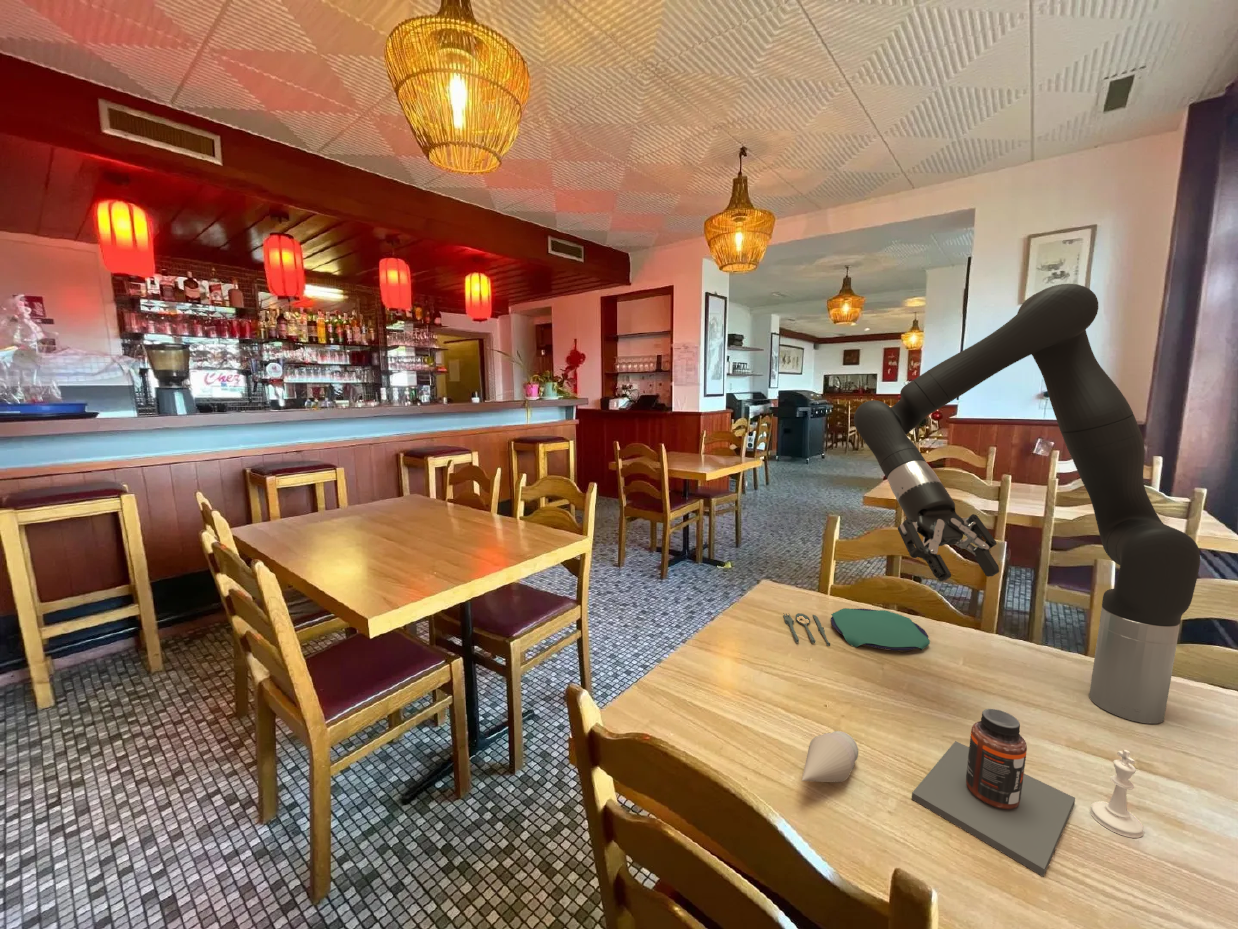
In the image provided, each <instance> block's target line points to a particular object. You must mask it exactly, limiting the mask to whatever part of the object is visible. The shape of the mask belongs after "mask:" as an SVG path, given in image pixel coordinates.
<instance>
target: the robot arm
mask: <svg viewBox="0 0 1238 929" xmlns="http://www.w3.org/2000/svg"><path fill="white" fill-rule="evenodd" d="M1098 311H1099V300H1098V297H1097V296H1096V293H1095V292H1093V291H1092V290H1091V289H1090V288H1089V287H1086V286H1084V285H1082V284H1078V283H1077V284H1076V283H1061V284H1060V283H1059V284H1056V285H1052V286H1050V287H1046V288H1044V289H1041V291H1038V292H1036V293H1034V294H1032V295H1031V296H1029V297H1028V298H1027V299H1026V300H1025V301H1024V302H1023V303H1021V305H1020V307H1019V308H1018V310H1017V314H1016V315H1015V316H1013V317H1012V318H1011V319H1010V320H1008V321H1007V322H1006V323H1005V324H1003V325H1002V326H1000V327H999V328H997V329H996V330H995V331H993V332H992V333H990V334H988V335H987V336H986V337H984V338H983V339H981V340H979V341H978V342H975V343H974V344H973V345H971V346H969V347H967V348H965V349H964V350H961V351H960V352H958V353H956V354H955V355H953V356H951V357H949V358H947V359H945V360H943V361H941V362H939V363H938V364H937V365H935V366H933V367H931V368H930V369H927V371H925V372H924V373H922V374H920V375H919V376H917V377H915V378H914V379H913V380H911V381H909V382H908V383H907V384H905V385H904V386H902V388H901V390H900V391H899V392H900V394H899V395H900V399H899V400H898V401H897V402H896V403H895V404H893V405H892V406H889V405H888V404H887V403H885V402H884V401H881V400H875V399H874V400H868V401H865V402H863V403H861V404H860V405H859V406H858V407H857V409H856V410H855V412H854V417H853V424H854V427H855V428H856V430H857V432H858V434H859V436H860V437H861V439H862V440H863V441H864V443H865V445H867V447H868V449H869V451H871V452H872V454H873V455H874V457H875V459H876V461H877V462H878V465H879V467H880V469H881V471H882V473H883V474H884V476H885V478H886V480H887V482H888V484H889V486H890V489H891V491H892V493H893V495H894V497H895V499H896V500H897V503H898V504H899V506H900V508H901V509H902V511H903V513H904V515H905V517H906V518H907V519H905V520H904V521H903V522H902V523H901V524H900V525H899V526H898V527H897V531H898V532H899V535H900V537H901V539H902V541H903V543H904V545H905V548H906V550H907V552H908V554H909V556H910V557H911V558H912V559H917V558H920V559H922V560H923V561H925V562H926V564H927V565H928V568H930V570H931V572H932V574H933V576H934V577H935V578H936V579H937V580H938V582H946V581H947V580H948V579H950V578H951V577H952V573H951V571H950V569H949V568H948V566H947V565H946V563H945V561H944V559H943V557H942V556H941V554H938V551H939V547H943V546H945V545H947V546H954V545H955V546H956V547H958V548H960V549H965V550H967V551H968V552H969V553H970V554H972V555H974V560H976V562H977V565H979V567H980V569H981V570H982V572H983V574H984V575H985V576H986V577H987V578H989V577H994V576H995V575H997V574H999V573H1000V567H999V564H998V563H997V562H996V560H995V558H994V557H993V556H992V554H991V552H990V550H991V549H992V548H993V547H995V546H996V545H997V543H998V542H997V541H996V540H995V538H994V537H993V535H992V534H991V533H990V531H989V530H988V528H987V527H986V526H985V524H984V523H983V522H982V520H981V519H980V518H979V516H978V515H977V514H974V513H973V514H971V515H970V516H968V517H963V518H962V517H961V516H959V514H958V513H957V512H956V503H955V501H954V500H953V498H952V497H951V495H950V494H949V492H948V490H947V489H946V487H945V486H944V484H943V483H942V481H941V480H940V478H939V477H938V475H937V473H936V472H935V471H934V470H933V468H932V467H931V466H930V465H929V464H928V462H927V460H926V459H925V457H924V455H923V454H922V453H921V451H920V450H919V449H918V447H917V446H916V445H915V443H914V442H913V441H912V440H911V439H910V438H909V437H908V436H907V435H909V433H911V431H912V430H914V429H915V428H916V427H917V426H918V425H920V423H921V422H922V421H924V420H925V418H927V417H928V416H929V415H930V414H932V413H934V412H937V410H939V409H941V408H942V407H944V406H946V405H948V404H949V403H951V402H953V401H955V400H956V399H957V398H959V397H960V396H963V395H964V394H965V393H967V392H968V391H970V390H972V389H973V388H975V387H977V386H978V385H980V384H981V383H983V382H984V381H986V380H988V379H990V378H991V377H993V376H994V375H995V374H996V375H997V374H998V373H999V372H1001V371H1002V370H1003V371H1004V369H1006V368H1008V367H1010V366H1011V365H1013V364H1015V363H1017V362H1019V361H1021V360H1024V359H1025V358H1026V357H1029V356H1032V357H1033V359H1034V362H1035V363H1036V365H1037V367H1038V369H1039V371H1040V373H1041V376H1042V378H1043V381H1044V383H1045V388H1046V392H1047V395H1048V398H1049V402H1050V404H1051V407H1052V410H1053V411H1052V412H1054V416H1055V419H1056V422H1057V425H1058V429H1059V431H1060V434H1061V435H1062V437H1063V441H1064V443H1065V446H1066V448H1067V451H1068V453H1069V456H1070V457H1071V459H1072V462H1073V464H1074V467H1075V469H1076V471H1077V473H1078V475H1079V478H1080V480H1081V482H1082V484H1083V486H1084V488H1085V490H1086V492H1087V494H1088V496H1089V499H1090V501H1091V504H1092V509H1093V513H1094V517H1095V521H1096V525H1097V530H1098V534H1099V538H1100V541H1101V545H1102V547H1103V550H1104V552H1105V554H1106V555H1107V556H1108V558H1110V560H1111V561H1113V562H1114V563H1115V564H1116V565H1118V566H1119V571H1118V574H1117V580H1116V585H1115V587H1114V588H1110V589H1108V590H1105V591H1104V592H1103V595H1102V600H1101V608H1100V609H1101V610H1100V616H1099V626H1098V632H1097V638H1096V646H1095V652H1094V660H1093V665H1092V674H1091V680H1090V685H1089V691H1088V692H1089V693H1088V696H1089V699H1090V700H1091V701H1092V702H1093V704H1095V705H1096V706H1098V707H1099V708H1100V709H1102V710H1104V711H1106V712H1108V713H1110V714H1113V715H1114V716H1118V717H1120V718H1122V719H1126V720H1129V721H1133V722H1137V723H1143V724H1152V725H1153V724H1160V723H1163V722H1164V720H1165V715H1166V710H1167V705H1168V704H1167V703H1168V699H1169V693H1170V686H1171V682H1172V681H1171V680H1172V674H1173V669H1174V664H1175V658H1176V652H1177V646H1178V638H1179V632H1180V627H1181V620H1182V616H1183V615H1184V614H1185V612H1187V610H1188V609H1189V608H1190V606H1191V603H1192V600H1193V597H1194V592H1195V589H1196V584H1197V582H1198V577H1199V576H1198V575H1199V571H1200V565H1201V553H1200V549H1199V546H1198V544H1197V543H1196V541H1195V539H1194V538H1192V537H1191V536H1189V534H1187V533H1185V532H1183V531H1182V530H1179V529H1177V528H1174V527H1172V526H1169V525H1167V524H1165V523H1164V522H1163V521H1162V520H1161V519H1160V517H1159V515H1158V514H1157V512H1156V510H1155V507H1154V506H1153V504H1152V502H1151V500H1150V497H1149V495H1148V493H1147V490H1146V487H1145V482H1144V470H1145V469H1144V467H1145V455H1146V453H1145V452H1146V451H1145V449H1146V448H1145V442H1144V438H1143V435H1142V432H1141V430H1140V426H1139V424H1138V421H1137V418H1136V416H1135V414H1134V412H1133V409H1132V408H1131V406H1130V404H1129V402H1128V400H1127V398H1126V397H1125V395H1124V394H1123V392H1122V391H1121V390H1120V389H1119V387H1118V386H1117V385H1116V383H1115V382H1114V381H1113V380H1112V379H1111V377H1110V376H1109V375H1108V374H1107V372H1106V371H1105V370H1104V369H1103V367H1102V366H1101V365H1100V364H1099V361H1097V358H1096V357H1095V355H1094V352H1093V350H1092V346H1091V343H1090V340H1089V337H1088V333H1087V329H1088V328H1089V327H1090V326H1091V325H1092V323H1093V322H1094V320H1095V319H1096V316H1097V315H1098ZM920 536H922V537H923V538H922V539H921V537H920ZM964 536H965V537H966V538H964ZM982 537H983V538H982ZM963 538H964V539H963ZM984 540H985V541H984ZM974 545H975V546H974Z"/></svg>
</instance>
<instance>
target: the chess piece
mask: <svg viewBox="0 0 1238 929" xmlns="http://www.w3.org/2000/svg"><path fill="white" fill-rule="evenodd" d="M1116 754H1117V755H1118V756H1119V757H1120V758H1121V759H1114V760H1113V761H1112V762H1113V767H1114V770H1115V774H1113V775H1111V776H1110V777H1109V779H1110V781H1111V782H1112V783H1113V784H1114V785H1115V786H1114V790H1113V793H1112V794H1111V797H1110V800H1109V802H1107V801H1103V800H1100V801H1099V800H1098V801H1093V802H1092V803H1091V804H1090V808H1089V814H1090V815H1091V816H1092V818H1093V819H1094V820H1095V821H1096V822H1097V823H1099V824H1100V825H1101V826H1103V827H1104V828H1106V829H1108V830H1109V831H1111V832H1112V833H1115V834H1118V835H1120V836H1123V837H1126V838H1133V839H1138V838H1141V837H1143V836H1144V832H1145V831H1144V826H1143V823H1142V822H1141V820H1139V818H1138V817H1136V816H1135V814H1133V813H1132V812H1130V811H1129V810H1128V805H1127V804H1128V802H1127V800H1128V799H1127V797H1128V796H1127V792H1128V791H1127V790H1134V789H1135V786H1134V783H1133V782H1132V781H1130V779H1131V778H1132V776H1134V774H1136V772H1137V769H1136V767H1135V766H1134V765H1133V764H1135V762H1136V760H1135V759H1133V758H1132V757H1131V751H1129V750H1128V749H1123V750H1117V753H1116Z"/></svg>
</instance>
